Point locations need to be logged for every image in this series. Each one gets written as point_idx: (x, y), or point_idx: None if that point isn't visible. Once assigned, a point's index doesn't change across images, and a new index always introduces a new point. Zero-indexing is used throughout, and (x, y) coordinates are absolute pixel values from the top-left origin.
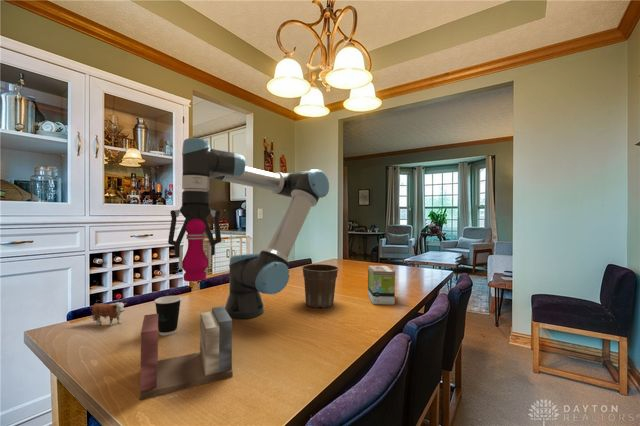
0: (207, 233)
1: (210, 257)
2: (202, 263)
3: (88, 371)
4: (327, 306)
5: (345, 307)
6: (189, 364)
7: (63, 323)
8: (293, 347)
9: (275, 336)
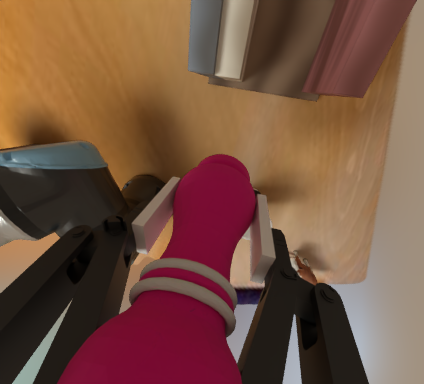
0: (104, 290)
1: (161, 192)
2: (197, 170)
3: (369, 140)
4: (37, 144)
5: (11, 127)
6: (268, 49)
7: (330, 283)
8: (108, 20)
9: (127, 87)
